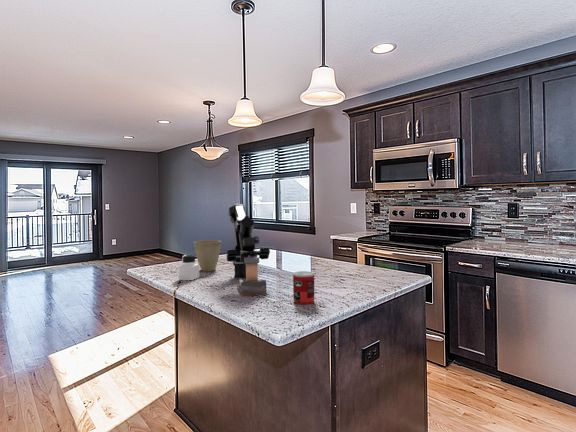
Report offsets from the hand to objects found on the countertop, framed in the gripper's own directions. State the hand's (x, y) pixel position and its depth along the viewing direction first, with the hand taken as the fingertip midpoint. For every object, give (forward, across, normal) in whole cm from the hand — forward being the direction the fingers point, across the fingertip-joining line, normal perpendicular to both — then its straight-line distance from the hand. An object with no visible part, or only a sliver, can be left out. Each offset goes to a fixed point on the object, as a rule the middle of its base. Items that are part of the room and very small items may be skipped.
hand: (250, 270), depth 154 cm
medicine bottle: (-16, -26, +29) cm, 42 cm away
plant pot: (-29, -15, +43) cm, 54 cm away
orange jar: (+7, 0, +3) cm, 8 cm away
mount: (+7, 0, +6) cm, 9 cm away
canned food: (+23, +16, -10) cm, 30 cm away
